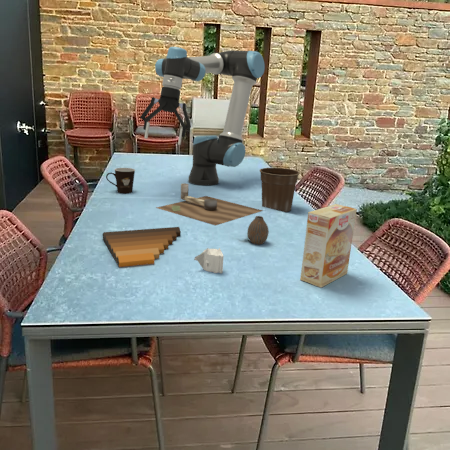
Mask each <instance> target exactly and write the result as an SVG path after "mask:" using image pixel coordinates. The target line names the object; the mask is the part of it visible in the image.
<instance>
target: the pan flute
mask: <svg viewBox="0 0 450 450" xmlns="http://www.w3.org/2000/svg"><path fill="white" fill-rule="evenodd" d="M181 233H182V232H181V229H180V226H174V227H172V226H170V227H158V228H143V229H130V230H116V231H104V232H103V233H102V241H103V242H104V244H105V246H106V247H107V249H108V250H109V253H110V254H111V256H112V258H113V259H114V261H115V263H116V265H117V266H118V268H122V267H123V268H124V267H126V268H127V267H134V266H135V267H136V266H144V265H154V264H155V260H157V259H160V256H161V255H160V254H162V255H163V254H165V250H168V249H169V246H170V245H173V242H174V241H177V238H178V237H181Z"/></svg>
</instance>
